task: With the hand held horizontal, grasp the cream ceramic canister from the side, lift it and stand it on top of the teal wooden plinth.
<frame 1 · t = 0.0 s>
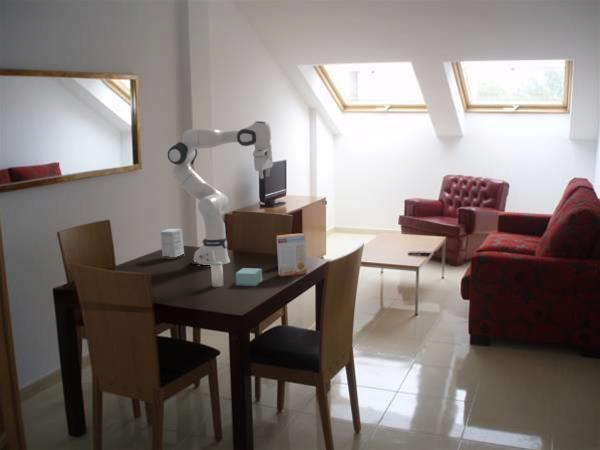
hand: (264, 177, 358), 48 cm above the table, tool pointing down, fingers open, 8 cm apart
white carton: (173, 258, 392), on the table
plinth: (249, 282, 330), on the table
cracker box: (292, 274, 342), on the table
canister: (217, 285, 327), on the table
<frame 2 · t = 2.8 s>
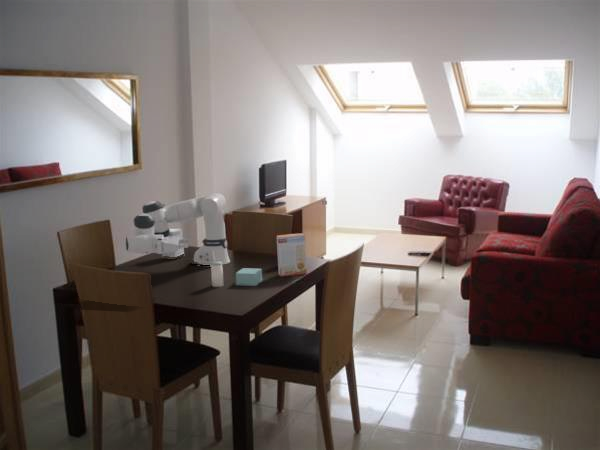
hand: (188, 243, 322), 22 cm above the table, tool horizontal, fingers open, 8 cm apart
nothing on the table moved.
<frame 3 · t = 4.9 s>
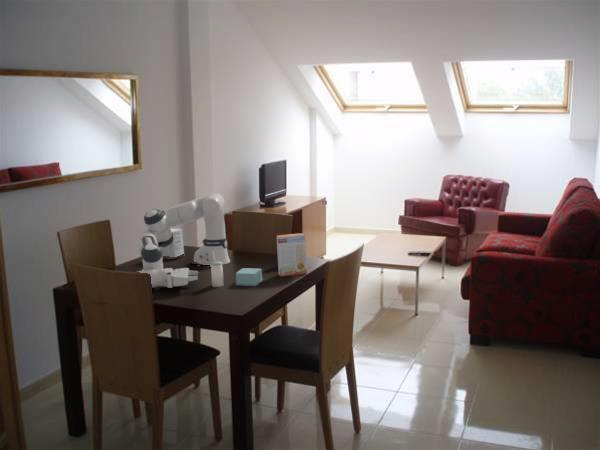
hand: (198, 275, 325), 6 cm above the table, tool horizontal, fingers open, 8 cm apart
nothing on the table moved.
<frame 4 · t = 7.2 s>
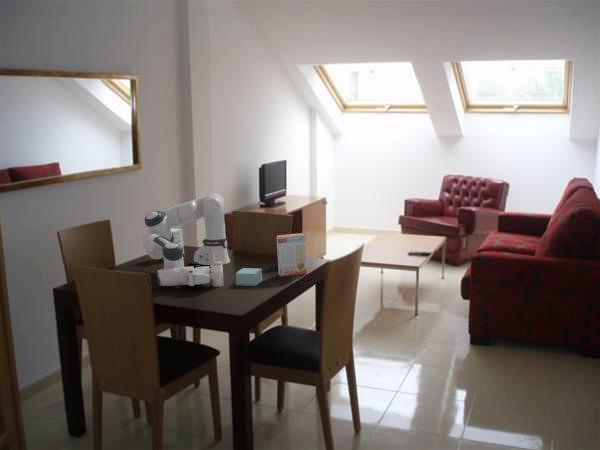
hand: (219, 273, 326), 6 cm above the table, tool horizontal, fingers closed on canister, 6 cm apart
canister: (217, 285, 327), on the table, touching gripper
everything else where it was.
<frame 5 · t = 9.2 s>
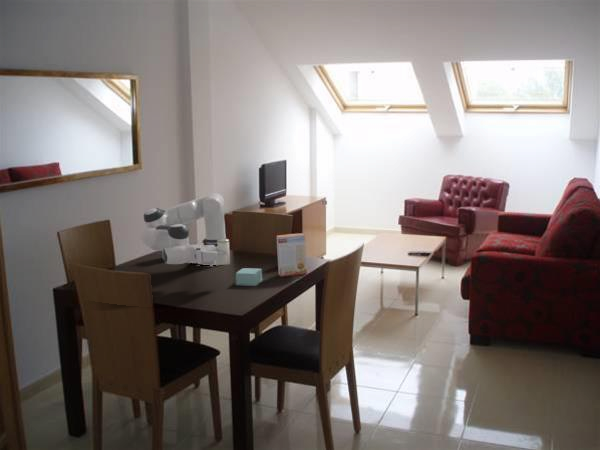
hand: (225, 251, 325), 17 cm above the table, tool horizontal, fingers closed on canister, 6 cm apart
canister: (224, 263, 325), point 11 cm above the table, touching gripper
everything else where it was.
when the fingers open (13 cm above the table, at t = 11.2 s): canister drops 1 cm, resting on plinth.
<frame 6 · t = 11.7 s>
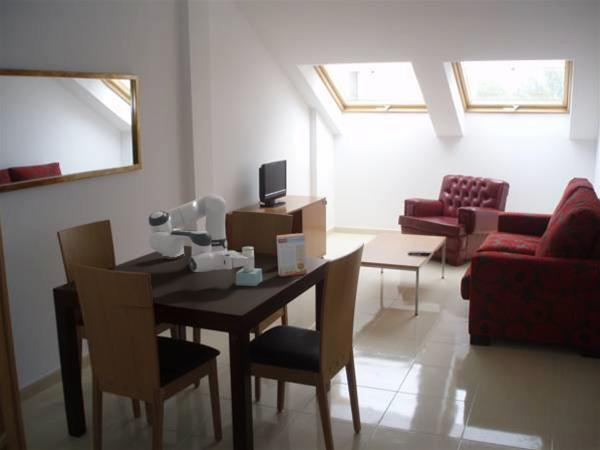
hand: (249, 256, 328), 13 cm above the table, tool horizontal, fingers open, 8 cm apart
canister: (248, 270, 329), point 6 cm above the table, touching plinth
everything else where it was.
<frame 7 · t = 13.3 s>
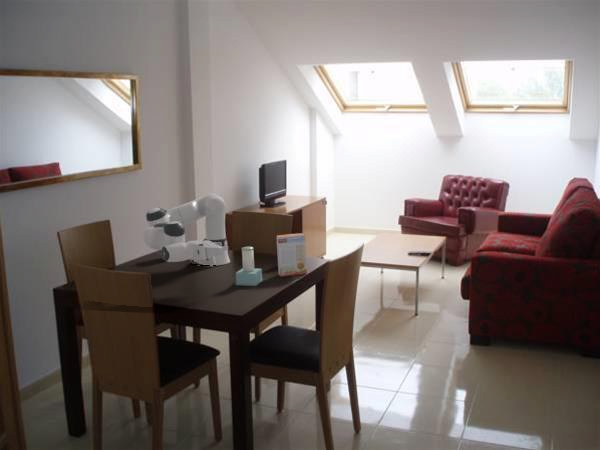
hand: (224, 245, 321), 20 cm above the table, tool horizontal, fingers open, 8 cm apart
nothing on the table moved.
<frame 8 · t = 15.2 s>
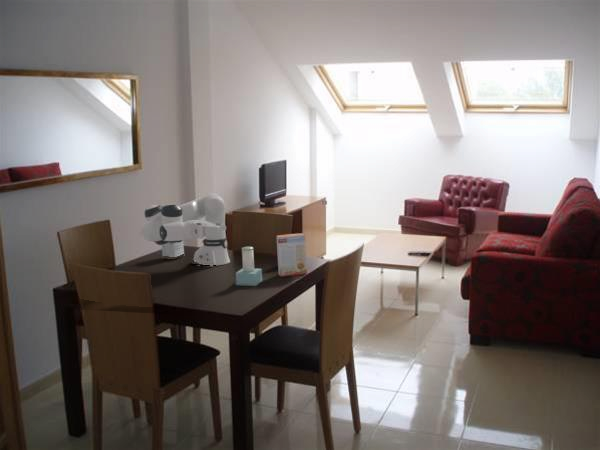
hand: (222, 225, 320), 30 cm above the table, tool horizontal, fingers open, 8 cm apart
nothing on the table moved.
at the end: canister inside the target area on the plinth (0.0 cm from its centre), point 6.0 cm above the plinth's base; canister tilted 0°; the gripper is holding nothing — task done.
